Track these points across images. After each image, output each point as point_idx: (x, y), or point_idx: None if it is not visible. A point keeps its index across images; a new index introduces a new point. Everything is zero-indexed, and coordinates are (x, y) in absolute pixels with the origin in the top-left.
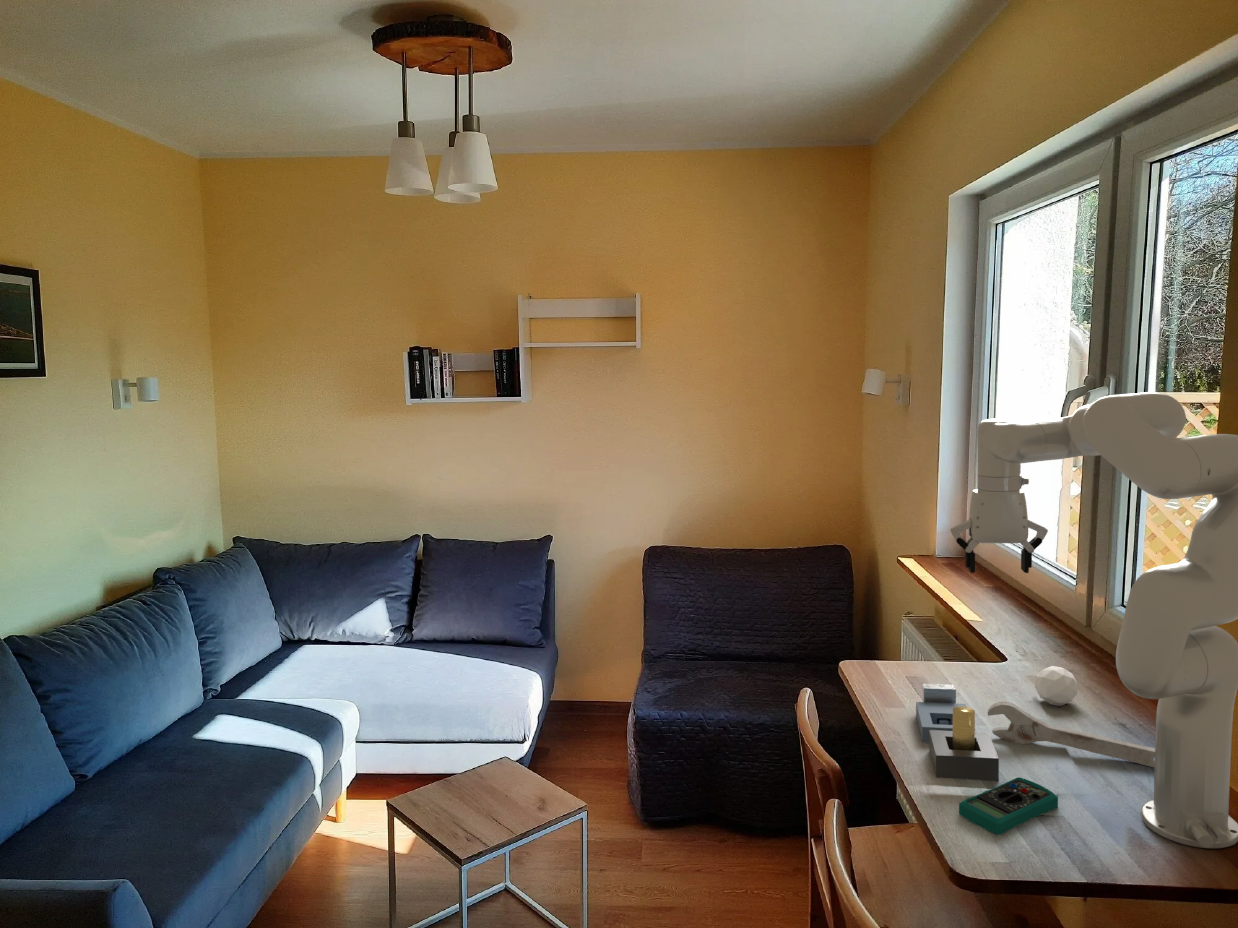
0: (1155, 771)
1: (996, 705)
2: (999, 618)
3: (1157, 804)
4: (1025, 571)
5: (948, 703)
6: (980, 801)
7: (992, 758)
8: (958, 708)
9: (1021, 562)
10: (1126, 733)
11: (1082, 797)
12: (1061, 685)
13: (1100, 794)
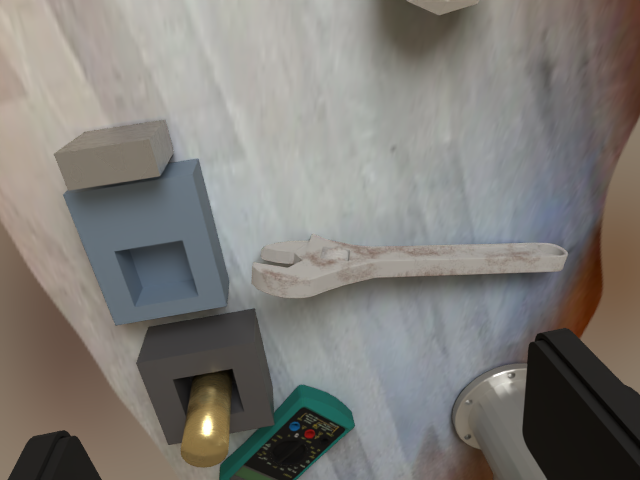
0: (498, 472)
1: (271, 292)
2: None
3: (477, 441)
4: (533, 446)
5: (149, 182)
6: (248, 468)
7: (264, 426)
8: (192, 446)
9: (568, 399)
10: (536, 120)
11: (390, 379)
12: (459, 6)
13: (417, 364)
